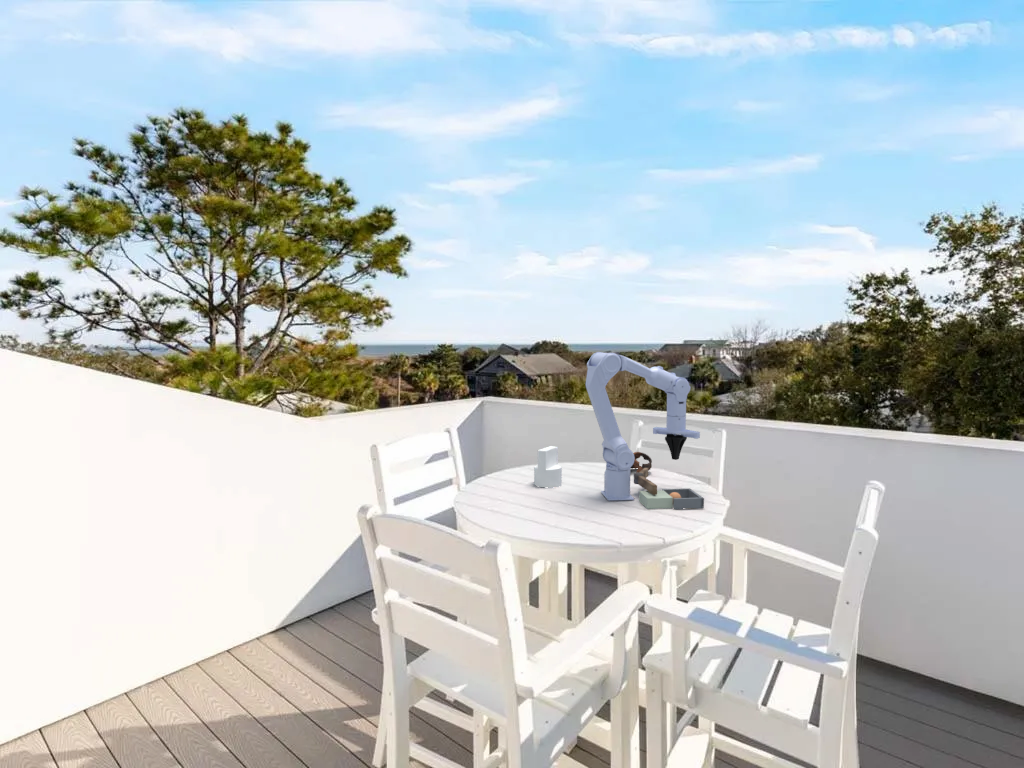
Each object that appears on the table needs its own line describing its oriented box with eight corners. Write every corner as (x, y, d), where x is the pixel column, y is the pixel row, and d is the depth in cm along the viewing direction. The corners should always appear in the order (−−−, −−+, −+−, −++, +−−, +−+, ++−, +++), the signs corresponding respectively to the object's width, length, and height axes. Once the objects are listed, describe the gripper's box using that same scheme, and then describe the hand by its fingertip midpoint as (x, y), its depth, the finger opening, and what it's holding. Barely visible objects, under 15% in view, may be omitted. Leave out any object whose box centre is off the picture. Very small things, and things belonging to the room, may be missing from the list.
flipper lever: (630, 475, 192) (631, 466, 192) (648, 475, 192) (648, 466, 192) (637, 494, 170) (637, 483, 170) (657, 494, 169) (657, 484, 169)
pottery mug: (644, 469, 217) (652, 452, 213) (647, 487, 209) (655, 469, 205) (613, 462, 216) (620, 444, 212) (614, 478, 208) (622, 461, 204)
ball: (680, 497, 173) (671, 505, 173) (673, 488, 173) (664, 496, 173) (685, 500, 170) (676, 508, 169) (678, 490, 169) (668, 499, 169)
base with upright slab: (553, 489, 189) (553, 452, 188) (529, 485, 193) (529, 449, 192) (566, 483, 196) (566, 447, 195) (542, 480, 201) (542, 445, 200)
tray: (661, 499, 177) (662, 489, 177) (689, 498, 178) (689, 488, 177) (674, 509, 166) (674, 499, 166) (703, 508, 167) (703, 498, 167)
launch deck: (639, 500, 175) (639, 490, 175) (663, 500, 176) (663, 490, 175) (647, 508, 167) (647, 498, 167) (672, 508, 168) (672, 497, 167)
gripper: (704, 416, 181) (703, 460, 182) (660, 412, 190) (659, 454, 191) (694, 418, 176) (693, 464, 177) (650, 414, 185) (649, 457, 186)
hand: (675, 459), depth 184 cm, fingers closed
